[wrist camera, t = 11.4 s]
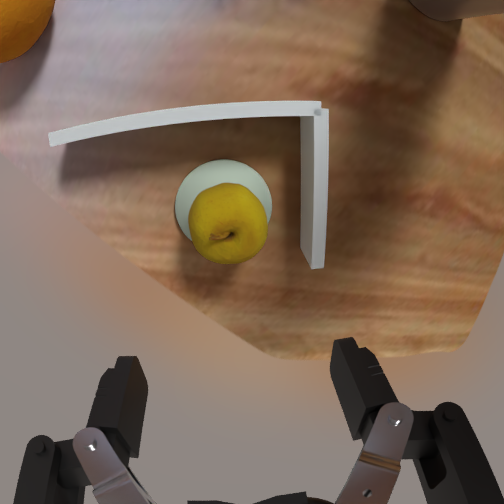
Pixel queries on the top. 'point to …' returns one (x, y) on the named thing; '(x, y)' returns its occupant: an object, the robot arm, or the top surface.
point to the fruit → (22, 25)
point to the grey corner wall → (310, 113)
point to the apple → (227, 223)
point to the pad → (215, 175)
